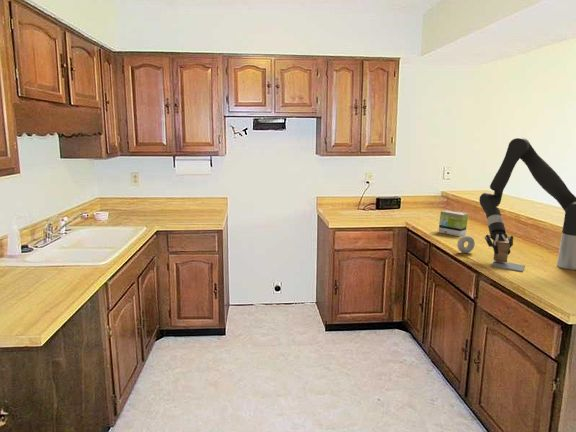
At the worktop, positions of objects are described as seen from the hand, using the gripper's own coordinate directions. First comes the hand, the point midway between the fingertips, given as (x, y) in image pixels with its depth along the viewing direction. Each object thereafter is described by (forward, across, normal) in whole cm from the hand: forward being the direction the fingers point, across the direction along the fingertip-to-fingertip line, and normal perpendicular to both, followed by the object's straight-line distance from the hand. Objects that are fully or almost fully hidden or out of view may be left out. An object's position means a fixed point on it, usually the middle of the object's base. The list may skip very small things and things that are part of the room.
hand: (502, 253), depth 218 cm
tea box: (-47, -2, +56) cm, 73 cm away
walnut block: (+2, 0, +4) cm, 5 cm away
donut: (-10, -11, +19) cm, 24 cm away
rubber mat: (+6, +2, +2) cm, 7 cm away
